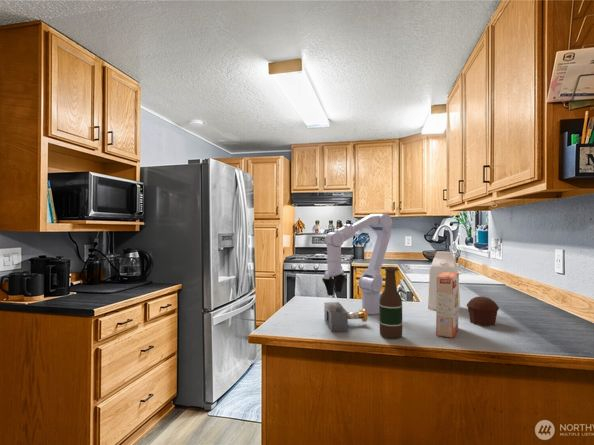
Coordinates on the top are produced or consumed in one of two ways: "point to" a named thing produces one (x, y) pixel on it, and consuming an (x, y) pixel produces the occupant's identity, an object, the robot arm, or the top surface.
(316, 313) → the top surface
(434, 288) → the milk
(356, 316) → the pin
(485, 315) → the muffin
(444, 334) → the cracker box
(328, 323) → the block
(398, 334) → the beer bottle
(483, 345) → the top surface
